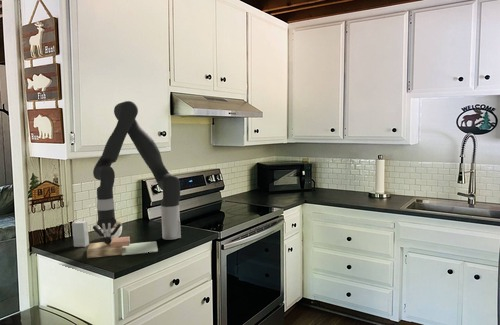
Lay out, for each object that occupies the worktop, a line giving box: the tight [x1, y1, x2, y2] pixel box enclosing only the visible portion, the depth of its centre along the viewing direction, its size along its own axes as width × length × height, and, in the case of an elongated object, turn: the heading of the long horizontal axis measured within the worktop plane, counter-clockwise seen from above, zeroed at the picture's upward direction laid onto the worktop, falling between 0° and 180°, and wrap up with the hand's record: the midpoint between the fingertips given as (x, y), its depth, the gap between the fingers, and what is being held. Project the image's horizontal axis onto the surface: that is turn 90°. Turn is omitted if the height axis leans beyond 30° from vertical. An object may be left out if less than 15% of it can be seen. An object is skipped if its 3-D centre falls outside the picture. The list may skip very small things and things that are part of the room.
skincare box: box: [71, 220, 90, 248], centre depth 195 cm, size 6×4×12 cm
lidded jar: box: [100, 220, 123, 241], centre depth 208 cm, size 11×11×9 cm
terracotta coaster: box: [111, 236, 131, 247], centre depth 187 cm, size 8×8×2 cm
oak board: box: [86, 241, 123, 259], centre depth 185 cm, size 15×13×3 cm
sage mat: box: [121, 241, 159, 256], centre depth 189 cm, size 16×16×1 cm
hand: (108, 244), depth 185 cm, fingers closed
